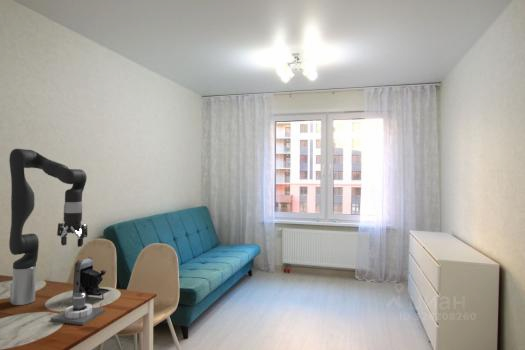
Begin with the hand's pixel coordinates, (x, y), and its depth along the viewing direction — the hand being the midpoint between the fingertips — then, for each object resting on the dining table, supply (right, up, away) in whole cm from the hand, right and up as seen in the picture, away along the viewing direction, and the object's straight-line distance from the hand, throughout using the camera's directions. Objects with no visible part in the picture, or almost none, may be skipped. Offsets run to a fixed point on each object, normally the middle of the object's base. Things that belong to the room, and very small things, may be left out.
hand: (71, 245), depth 152 cm
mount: (+7, -30, -7) cm, 32 cm away
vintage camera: (+2, -30, +15) cm, 34 cm away
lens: (+7, -29, -7) cm, 31 cm away
